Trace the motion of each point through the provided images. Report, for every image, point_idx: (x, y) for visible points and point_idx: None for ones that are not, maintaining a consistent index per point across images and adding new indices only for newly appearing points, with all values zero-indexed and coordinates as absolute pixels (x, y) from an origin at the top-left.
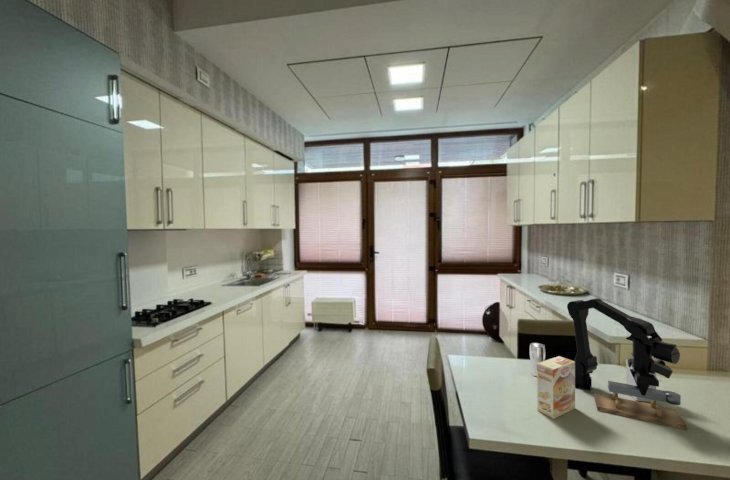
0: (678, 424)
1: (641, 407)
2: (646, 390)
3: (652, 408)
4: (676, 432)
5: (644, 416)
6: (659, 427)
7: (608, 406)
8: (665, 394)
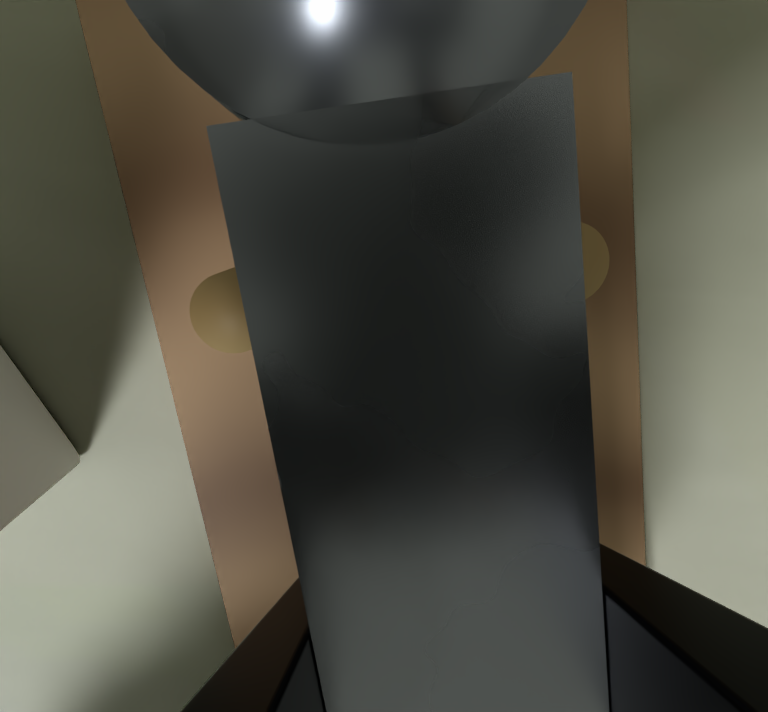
0: (620, 24)
1: None
2: (736, 626)
3: None
4: (743, 81)
5: (636, 410)
6: (709, 254)
7: None
8: (552, 83)
